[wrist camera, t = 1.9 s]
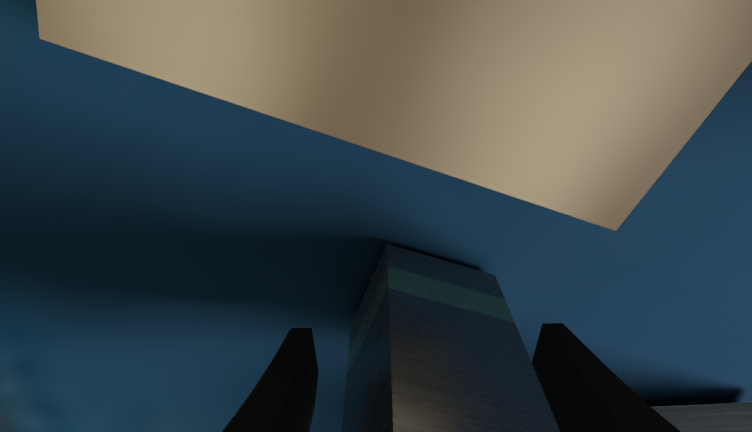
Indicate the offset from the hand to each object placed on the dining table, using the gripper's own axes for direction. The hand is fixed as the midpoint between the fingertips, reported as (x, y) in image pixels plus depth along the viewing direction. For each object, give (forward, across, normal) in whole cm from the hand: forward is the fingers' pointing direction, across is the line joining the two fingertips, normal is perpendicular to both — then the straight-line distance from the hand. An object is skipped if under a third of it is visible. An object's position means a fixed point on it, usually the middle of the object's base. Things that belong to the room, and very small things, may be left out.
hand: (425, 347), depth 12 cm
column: (+2, 0, 0) cm, 2 cm away
